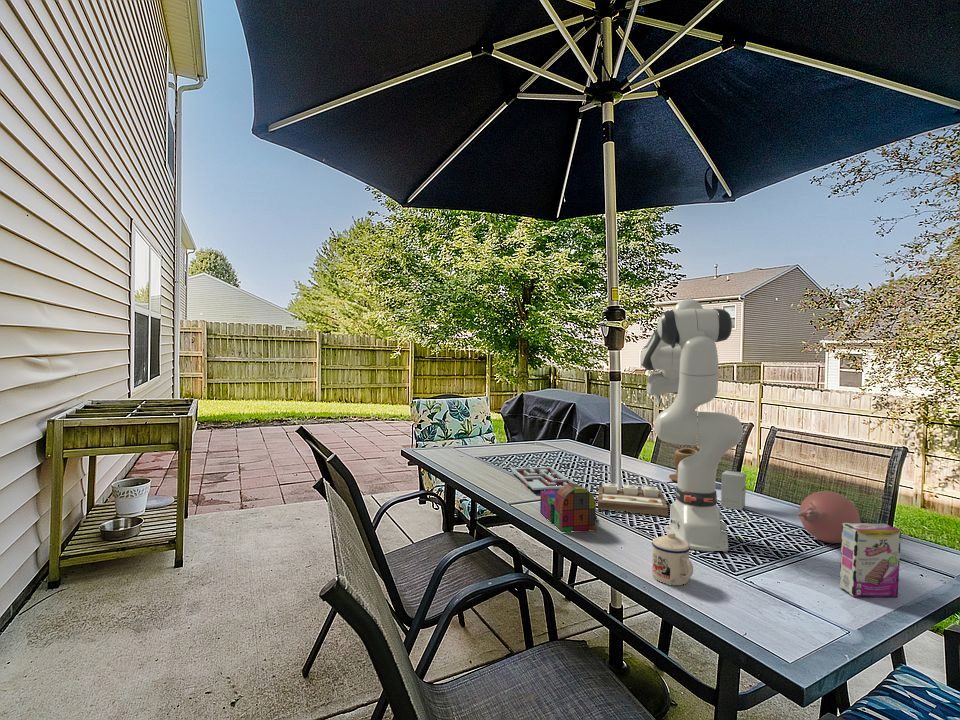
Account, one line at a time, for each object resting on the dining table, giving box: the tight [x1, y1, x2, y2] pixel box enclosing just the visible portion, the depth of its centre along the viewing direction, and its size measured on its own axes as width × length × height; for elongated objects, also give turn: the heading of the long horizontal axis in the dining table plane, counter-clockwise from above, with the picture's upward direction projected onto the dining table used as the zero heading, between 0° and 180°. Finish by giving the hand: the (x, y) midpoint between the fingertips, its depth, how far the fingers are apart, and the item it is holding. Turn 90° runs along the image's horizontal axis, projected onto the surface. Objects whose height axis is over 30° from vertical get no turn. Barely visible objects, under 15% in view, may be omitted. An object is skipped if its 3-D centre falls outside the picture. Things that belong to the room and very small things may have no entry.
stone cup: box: [668, 447, 699, 483], centre depth 226 cm, size 15×12×15 cm
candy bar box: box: [839, 522, 902, 598], centre depth 121 cm, size 11×5×16 cm, turn 92°
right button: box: [643, 485, 659, 497], centre depth 193 cm, size 5×5×3 cm
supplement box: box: [720, 470, 747, 511], centre depth 190 cm, size 7×7×13 cm
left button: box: [603, 482, 618, 494], centre depth 197 cm, size 5×5×3 cm
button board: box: [597, 486, 669, 517], centre depth 190 cm, size 22×24×4 cm
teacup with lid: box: [651, 532, 694, 586], centre depth 126 cm, size 12×9×12 cm
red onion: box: [797, 490, 861, 544], centre depth 154 cm, size 15×20×15 cm
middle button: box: [623, 484, 639, 496], centre depth 195 cm, size 5×5×3 cm
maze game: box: [510, 466, 577, 491], centre depth 220 cm, size 35×20×3 cm, turn 12°
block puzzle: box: [539, 483, 598, 533], centre depth 173 cm, size 25×17×14 cm
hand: (669, 402), depth 211 cm, fingers open, 8 cm apart
